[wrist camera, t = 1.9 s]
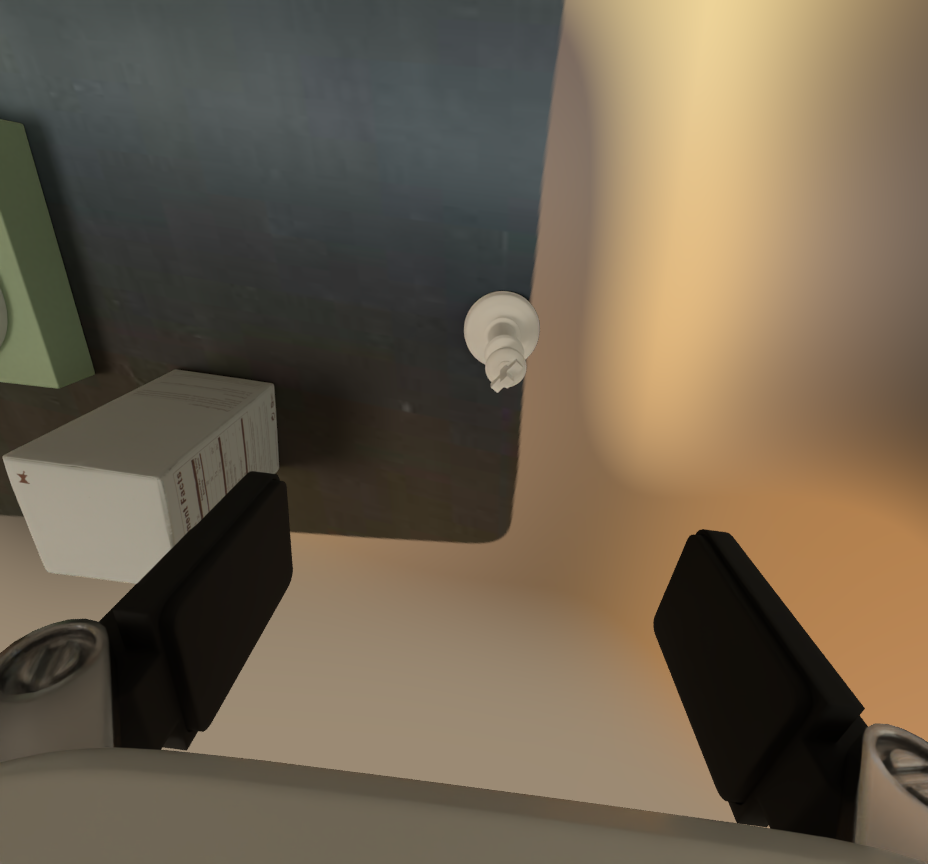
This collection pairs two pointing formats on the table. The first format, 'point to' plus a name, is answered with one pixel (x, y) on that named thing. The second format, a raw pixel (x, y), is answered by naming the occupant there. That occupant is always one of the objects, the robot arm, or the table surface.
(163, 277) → the table surface
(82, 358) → the scale
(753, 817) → the robot arm
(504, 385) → the chess piece
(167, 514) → the white packaging box
